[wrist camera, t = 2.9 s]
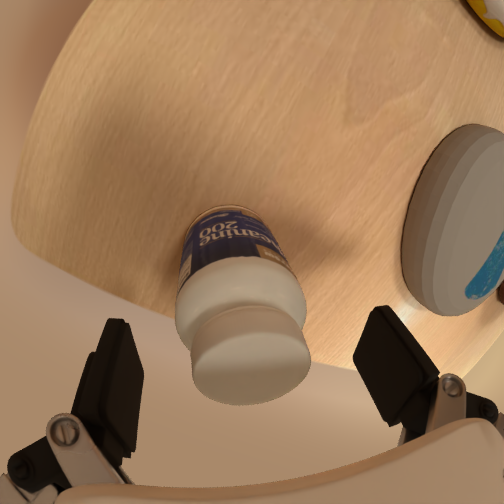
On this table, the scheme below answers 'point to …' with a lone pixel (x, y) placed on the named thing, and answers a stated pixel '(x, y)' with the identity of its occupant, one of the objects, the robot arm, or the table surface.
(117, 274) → the table surface
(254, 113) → the table surface
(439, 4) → the table surface
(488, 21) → the donut
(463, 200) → the frisbee
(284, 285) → the pill bottle
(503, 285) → the mug
